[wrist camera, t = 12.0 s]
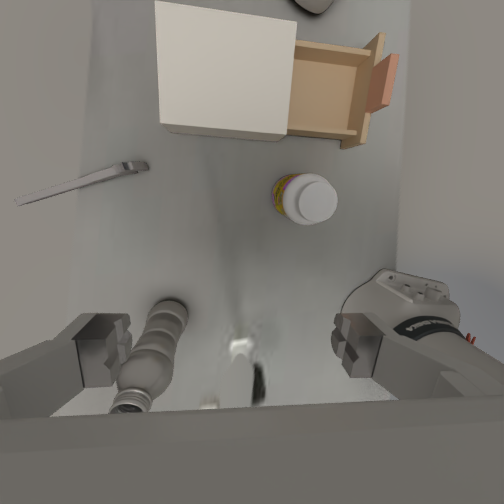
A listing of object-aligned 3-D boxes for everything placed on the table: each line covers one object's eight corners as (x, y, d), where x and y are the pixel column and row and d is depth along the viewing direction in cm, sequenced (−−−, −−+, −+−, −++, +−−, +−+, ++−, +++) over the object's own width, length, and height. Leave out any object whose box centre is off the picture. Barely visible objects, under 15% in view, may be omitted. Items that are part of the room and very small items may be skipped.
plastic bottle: (152, 294, 42) (88, 391, 22) (190, 297, 42) (161, 391, 23) (152, 326, 43) (93, 440, 24) (189, 327, 44) (160, 438, 25)
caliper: (147, 162, 36) (131, 158, 30) (150, 169, 36) (135, 167, 30) (16, 199, 35) (-27, 203, 29) (20, 206, 36) (-21, 211, 30)
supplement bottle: (282, 167, 38) (310, 160, 25) (316, 186, 39) (357, 188, 27) (263, 204, 39) (280, 215, 27) (296, 222, 40) (327, 239, 28)
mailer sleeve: (284, 49, 33) (297, 21, 27) (277, 142, 36) (286, 134, 31) (168, 33, 31) (154, 0, 25) (171, 132, 34) (160, 123, 29)
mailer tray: (360, 57, 34) (407, 13, 25) (345, 149, 38) (382, 139, 29) (249, 42, 32) (258, -11, 23) (244, 140, 36) (250, 126, 27)
